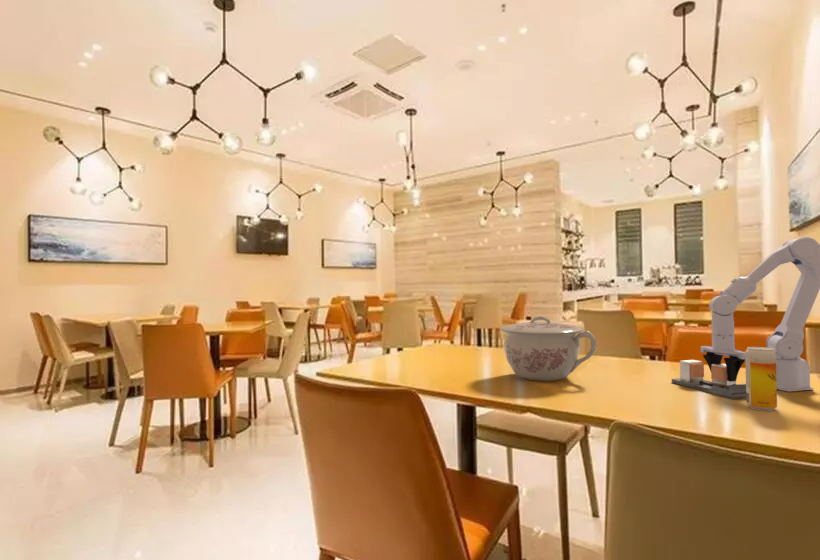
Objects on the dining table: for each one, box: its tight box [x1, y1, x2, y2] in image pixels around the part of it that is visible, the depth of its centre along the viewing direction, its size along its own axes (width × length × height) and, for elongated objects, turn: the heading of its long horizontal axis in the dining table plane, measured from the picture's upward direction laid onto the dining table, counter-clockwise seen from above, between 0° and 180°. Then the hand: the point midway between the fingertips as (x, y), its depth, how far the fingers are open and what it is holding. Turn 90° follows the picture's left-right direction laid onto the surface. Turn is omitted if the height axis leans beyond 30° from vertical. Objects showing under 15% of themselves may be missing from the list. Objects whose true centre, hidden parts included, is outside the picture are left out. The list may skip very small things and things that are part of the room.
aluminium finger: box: [710, 362, 737, 386], centre depth 138 cm, size 4×5×6 cm
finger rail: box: [671, 359, 746, 400], centre depth 133 cm, size 21×8×7 cm, turn 13°
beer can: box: [744, 346, 778, 412], centre depth 113 cm, size 6×6×15 cm
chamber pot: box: [499, 316, 598, 382], centre depth 153 cm, size 28×28×21 cm
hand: (723, 379), depth 139 cm, fingers closed on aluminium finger, 5 cm apart
